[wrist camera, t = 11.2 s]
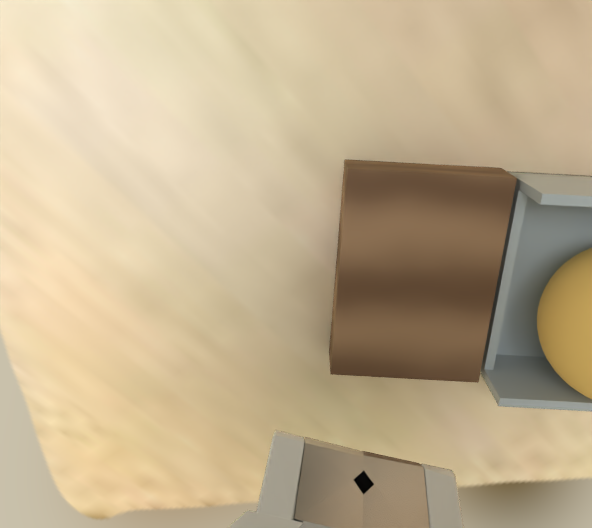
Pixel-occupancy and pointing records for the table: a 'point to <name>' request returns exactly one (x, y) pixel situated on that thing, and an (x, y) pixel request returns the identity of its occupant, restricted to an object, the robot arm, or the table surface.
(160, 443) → the table surface
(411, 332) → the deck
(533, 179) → the tray
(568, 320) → the ball
